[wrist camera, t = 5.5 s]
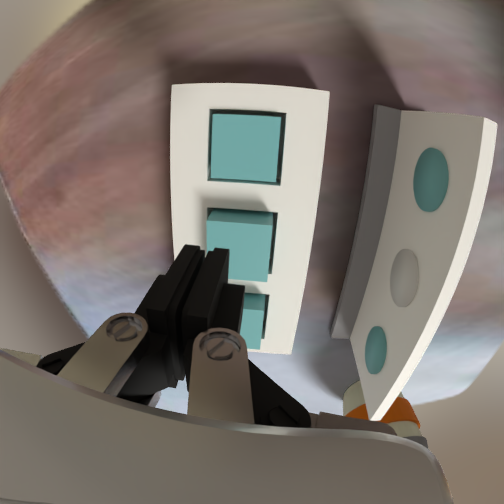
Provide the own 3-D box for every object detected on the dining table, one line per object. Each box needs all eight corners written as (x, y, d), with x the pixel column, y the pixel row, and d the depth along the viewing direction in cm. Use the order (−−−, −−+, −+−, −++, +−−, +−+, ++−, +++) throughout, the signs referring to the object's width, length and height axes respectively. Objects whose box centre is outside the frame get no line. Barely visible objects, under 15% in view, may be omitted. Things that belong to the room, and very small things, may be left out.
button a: (279, 117, 22) (281, 117, 19) (275, 173, 25) (275, 182, 22) (220, 114, 22) (212, 113, 19) (218, 169, 25) (210, 177, 22)
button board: (321, 95, 22) (329, 91, 19) (289, 330, 34) (290, 354, 30) (186, 88, 23) (171, 84, 19) (191, 321, 34) (183, 343, 31)
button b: (272, 211, 25) (272, 225, 22) (268, 262, 27) (267, 282, 24) (214, 206, 25) (206, 220, 22) (214, 257, 27) (207, 276, 24)
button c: (265, 289, 28) (264, 310, 25) (261, 327, 31) (259, 349, 27) (214, 284, 28) (208, 305, 25) (215, 322, 31) (209, 344, 28)
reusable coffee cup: (332, 375, 37) (344, 468, 24) (413, 359, 36) (443, 442, 22) (331, 417, 43) (338, 492, 29) (398, 404, 41) (416, 474, 28)
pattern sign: (428, 119, 22) (520, 135, 10) (374, 333, 33) (401, 417, 22) (374, 104, 22) (452, 103, 10) (329, 332, 34) (345, 422, 22)
